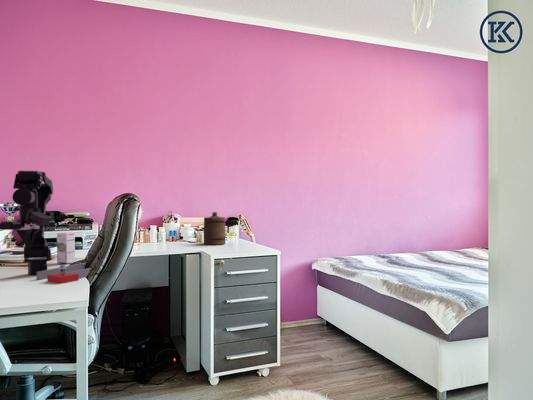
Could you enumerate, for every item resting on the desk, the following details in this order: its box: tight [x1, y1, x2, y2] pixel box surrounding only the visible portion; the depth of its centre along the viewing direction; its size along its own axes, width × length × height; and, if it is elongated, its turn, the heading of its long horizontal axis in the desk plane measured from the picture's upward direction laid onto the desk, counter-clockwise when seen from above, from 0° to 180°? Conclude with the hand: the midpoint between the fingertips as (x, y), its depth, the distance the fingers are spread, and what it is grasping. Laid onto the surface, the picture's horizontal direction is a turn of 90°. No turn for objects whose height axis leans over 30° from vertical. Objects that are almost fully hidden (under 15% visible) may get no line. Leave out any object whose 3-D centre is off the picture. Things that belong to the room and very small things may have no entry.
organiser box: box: [36, 261, 91, 281], centre depth 160 cm, size 13×25×3 cm, turn 162°
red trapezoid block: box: [46, 264, 80, 285], centre depth 148 cm, size 8×7×6 cm
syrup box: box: [56, 231, 76, 264], centre depth 195 cm, size 6×6×14 cm
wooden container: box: [203, 211, 226, 246], centre depth 281 cm, size 15×15×22 cm
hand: (28, 248), depth 148 cm, fingers closed
